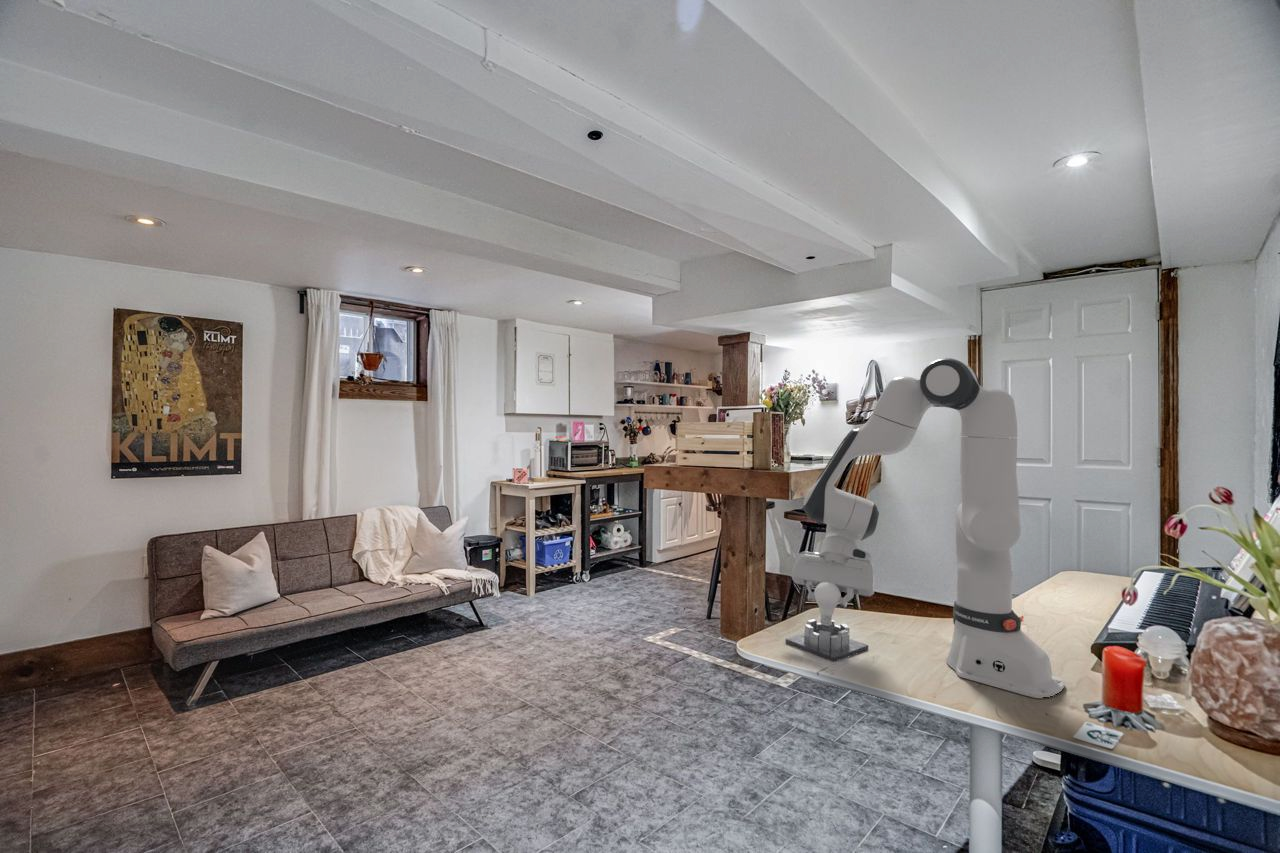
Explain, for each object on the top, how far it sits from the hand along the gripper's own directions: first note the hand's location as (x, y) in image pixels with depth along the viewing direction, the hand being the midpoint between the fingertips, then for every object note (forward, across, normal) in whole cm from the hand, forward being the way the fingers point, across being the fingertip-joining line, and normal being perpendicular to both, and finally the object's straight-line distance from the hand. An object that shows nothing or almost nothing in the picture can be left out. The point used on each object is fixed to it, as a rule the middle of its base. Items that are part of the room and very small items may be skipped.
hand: (826, 602), depth 147 cm
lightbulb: (+4, 0, +5) cm, 6 cm away
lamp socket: (+7, 0, +8) cm, 11 cm away
